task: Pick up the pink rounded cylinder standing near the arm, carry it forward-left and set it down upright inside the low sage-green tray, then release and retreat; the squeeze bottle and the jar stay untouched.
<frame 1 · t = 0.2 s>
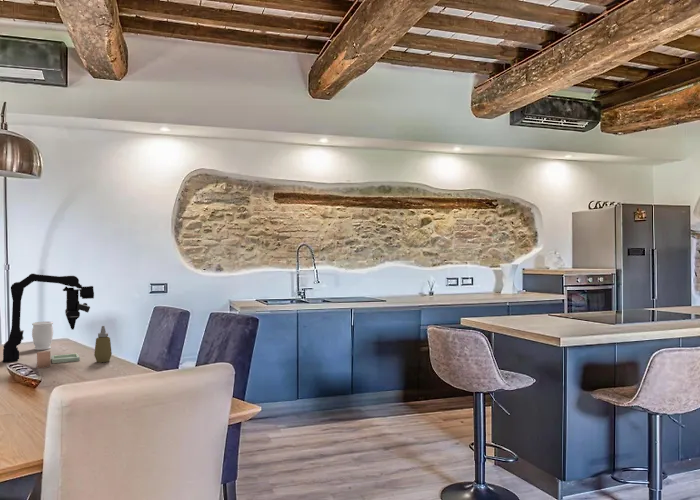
hand: (72, 328, 287), 14 cm above the table, tool pointing down, fingers open, 9 cm apart
jar: (42, 349, 307), on the table
tray: (65, 360, 275), on the table
squeeze bottle: (103, 362, 272), on the table
pink rounded cylinder: (43, 366, 260), on the table
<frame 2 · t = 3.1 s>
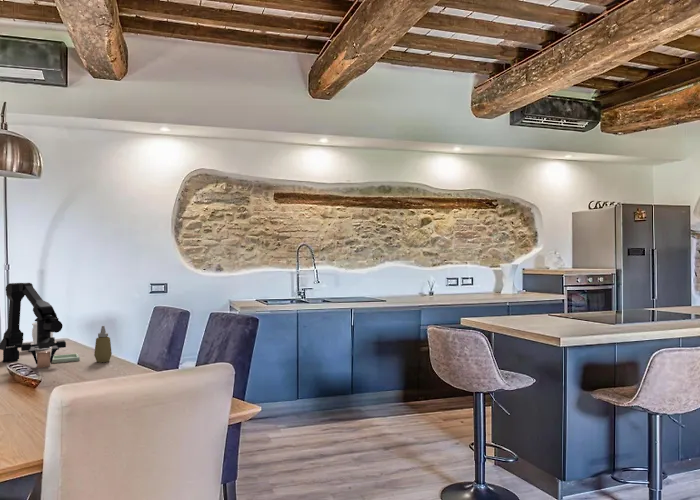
hand: (43, 363, 260), 2 cm above the table, tool pointing down, fingers closed on pink rounded cylinder, 6 cm apart
pink rounded cylinder: (43, 366, 260), on the table, touching gripper
everything else where it was.
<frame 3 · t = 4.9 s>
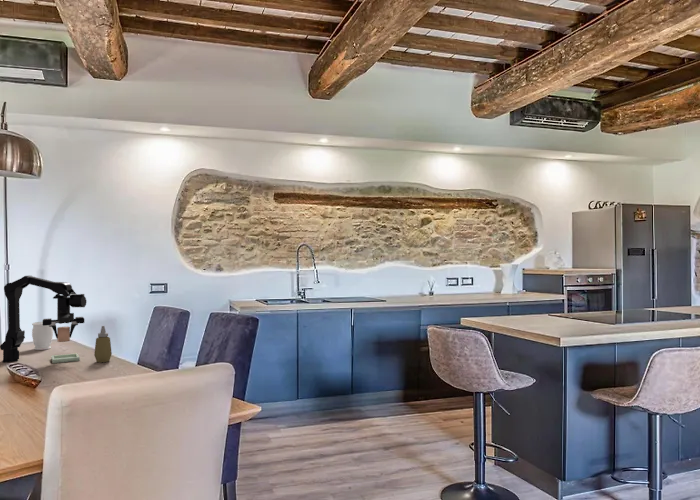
hand: (63, 338, 274), 12 cm above the table, tool pointing down, fingers closed on pink rounded cylinder, 6 cm apart
pink rounded cylinder: (63, 341, 274), point 10 cm above the table, touching gripper
everything else where it was.
when the fingers open (4 cm above the table, at t = 6.9 s): pink rounded cylinder drops 2 cm, resting on tray.
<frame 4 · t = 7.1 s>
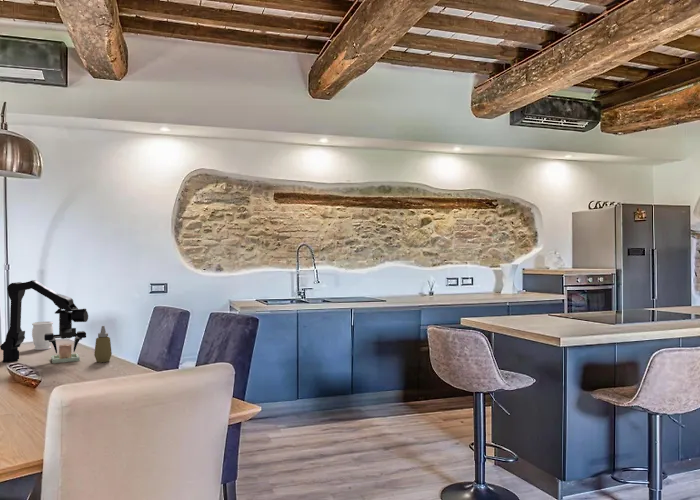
hand: (65, 352, 275), 4 cm above the table, tool pointing down, fingers open, 8 cm apart
pink rounded cylinder: (65, 358, 275), point 1 cm above the table, touching tray
everything else where it was.
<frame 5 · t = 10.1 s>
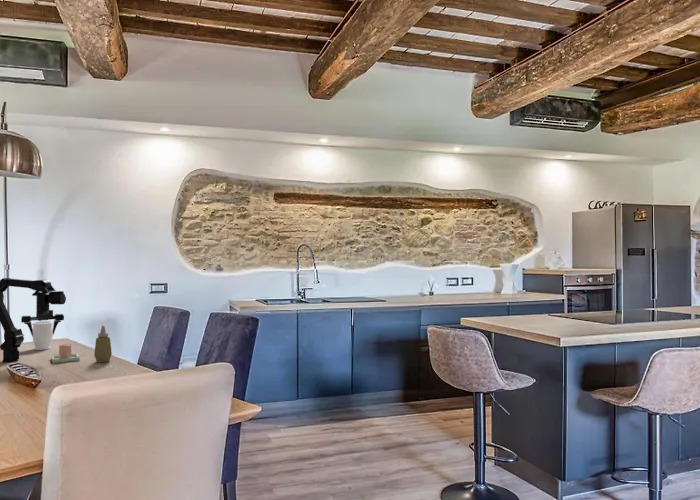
hand: (42, 335, 274), 13 cm above the table, tool pointing down, fingers open, 9 cm apart
nothing on the table moved.
at the end: pink rounded cylinder inside the target area on the tray (0.1 cm from its centre), point 0.6 cm above the tray's base; pink rounded cylinder tilted 0°; the gripper is holding nothing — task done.
